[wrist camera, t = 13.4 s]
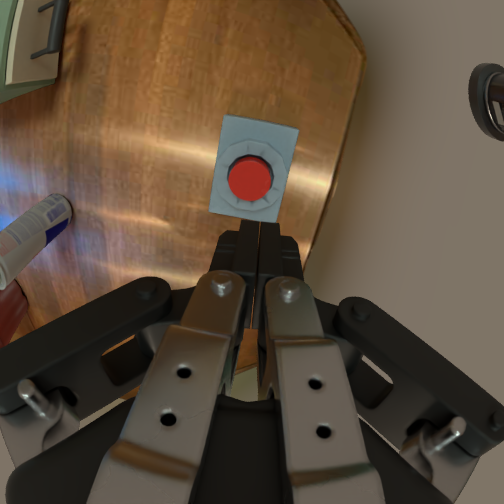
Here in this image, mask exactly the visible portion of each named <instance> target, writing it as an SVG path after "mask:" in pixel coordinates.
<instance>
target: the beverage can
mask: <svg viewBox="0 0 504 504" xmlns="http://www.w3.org/2000/svg"><path fill="white" fill-rule="evenodd" d="M71 219H72V211H71V206H70V204H69V202H68V201H67V200H66V199H65V198H64V197H63V196H61V195H59V194H52V195H50V196H48V197H47V198H45V199H44V200H42V201H41V202H39V203H38V204H36V205H35V206H34V207H32V208H31V209H29V210H28V211H27V212H25V213H24V214H23V215H21V216H20V217H19V218H17V219H16V220H15V221H13V222H12V223H11V224H10V225H8V226H7V227H6V228H5V229H3V230H2V231H1V232H0V290H4V289H5V288H6V286H7V285H9V284H10V283H11V282H12V281H13V279H14V278H15V277H16V276H17V275H18V274H19V273H20V272H21V271H22V270H23V269H24V268H25V267H26V266H27V264H28V263H29V262H30V261H31V260H32V259H33V258H34V257H35V256H36V255H37V254H38V253H39V252H40V251H41V250H42V249H43V248H45V247H46V246H47V245H48V244H49V243H50V242H51V241H52V240H53V239H54V238H55V237H56V236H57V235H58V234H60V233H61V232H62V231H63V230H64V229H65V228H66V227H67V226H68V225H69V224H70V222H71Z"/></svg>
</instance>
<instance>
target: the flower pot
mask: <svg viewBox="0 0 504 504" xmlns="http://www.w3.org/2000/svg"><path fill="white" fill-rule="evenodd" d="M27 310H28V303H27V300H26V297H25V296H23V295H22V292H21V288H20V286H19V285H18V284H17V282H16V281H15V280H14V279H13V281H12V282H11V283H10V284H9V285H7V286H6V288H5V289H4V290H0V348H2V347H4V346H6V345H8V344H9V342H10V340H11V338H12V336H13V334H14V332H15V331H16V329H17V327H18V325H19V324H20V322H21V320H22V318H23V317H24V315H25V313H26V312H27Z"/></svg>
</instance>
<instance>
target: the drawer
mask: <svg viewBox="0 0 504 504" xmlns="http://www.w3.org/2000/svg"><path fill="white" fill-rule="evenodd" d="M68 3H69V0H18V3H17V4H16V8H15V12H14V16H13V20H12V25H11V31H10V36H9V43H8V50H7V58H6V68H5V84H6V85H10V84H16V83H22V82H30V81H38V80H48V79H53V78H56V77H57V70H58V57H59V52H60V51H61V44H62V37H63V30H64V24H65V18H66V12H67V8H68Z"/></svg>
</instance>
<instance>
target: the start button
mask: <svg viewBox="0 0 504 504" xmlns="http://www.w3.org/2000/svg"><path fill="white" fill-rule="evenodd" d="M228 182H229V187H230V189H231V191H232V192H233V194H234V195H235V196H237V197H238V198H240V199H242V200H246V201H254V200H258V199H260V198H262V197H263V196H264V195H266V193H267V192H268V190H269V188H270V185H271V175H270V170H269V168H268V166H267V165H266V163H265V162H263V161H262V160H260V159H258V158H255V157H245V158H242V159H240V160H239V161H237V162H236V163H235V164H234V166H233V168H232V170H231V172H230V174H229V179H228Z"/></svg>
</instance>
